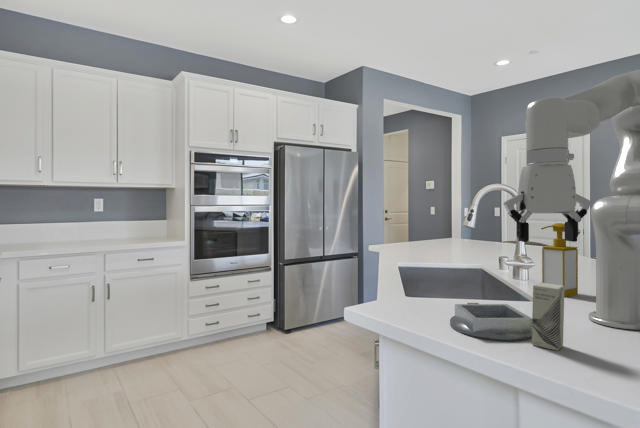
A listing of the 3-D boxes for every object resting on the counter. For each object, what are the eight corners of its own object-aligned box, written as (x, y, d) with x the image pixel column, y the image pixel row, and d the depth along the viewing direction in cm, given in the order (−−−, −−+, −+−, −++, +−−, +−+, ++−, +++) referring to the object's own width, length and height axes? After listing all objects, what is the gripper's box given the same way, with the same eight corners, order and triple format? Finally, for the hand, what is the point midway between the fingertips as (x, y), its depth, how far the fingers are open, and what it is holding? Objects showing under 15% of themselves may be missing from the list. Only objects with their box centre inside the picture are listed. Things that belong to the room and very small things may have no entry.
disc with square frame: (507, 312, 105) (507, 298, 105) (553, 341, 82) (553, 323, 82) (437, 312, 106) (437, 298, 106) (464, 341, 83) (464, 323, 83)
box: (531, 345, 80) (530, 284, 80) (537, 340, 83) (537, 281, 83) (559, 351, 77) (559, 288, 76) (565, 346, 80) (565, 285, 79)
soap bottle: (531, 294, 126) (531, 223, 125) (556, 290, 131) (555, 222, 130) (552, 299, 119) (552, 224, 119) (577, 294, 124) (577, 222, 124)
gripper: (578, 161, 83) (578, 239, 83) (497, 162, 84) (497, 240, 84) (602, 156, 75) (602, 242, 75) (512, 158, 76) (513, 243, 76)
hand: (547, 241), depth 80 cm, fingers open, 9 cm apart
